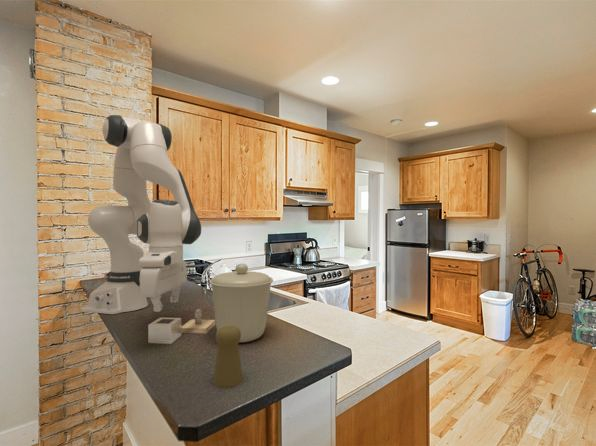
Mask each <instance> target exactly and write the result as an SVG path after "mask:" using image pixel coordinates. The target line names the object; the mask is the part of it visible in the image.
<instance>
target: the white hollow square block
mask: <svg viewBox="0 0 596 446" xmlns="http://www.w3.org/2000/svg"><path fill="white" fill-rule="evenodd" d="M147 326H148V327H147V328H148V330H147V331H148V333H147V334H148V338H147V341H148V342H147V343H148V344H170V345H172V344H173V343H174V342H175V341H177V340H178V339H179V338H180V337H181V336H182V333H181V327H182V326H183V324H182V317H158V318H157V319H156V320H154V321H152V322H151V323H149V324H148V325H147Z"/></svg>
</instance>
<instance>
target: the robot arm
mask: <svg viewBox="0 0 596 446" xmlns="http://www.w3.org/2000/svg"><path fill="white" fill-rule="evenodd" d="M101 132H102V135H103V139H104V140H105V142H106V143H107V144H108V145H111V146H114V147H115V148H116V147H117V148H116V152H115V157H114V164H113V174H112V175H113V176H112V177H113V179H112V187H113V190H114V191H115V192H116V193H117V194H119V195H120V196H122V197H124V198H126V201H127V205H113V204H112V205H111V204H108V205H101V206H95V207H94V208H93V209H91V211H90V213H89V214H88V217H87V223H88V227H89V228H90V229H91V231H92V232H93V233H95V234H96V235H98V236H99V237H101V239H102V240H103V241H104V242H105V244H106V246H107V247H108V250H109V256H110V271H109V272H106V273H104V274H103V275H104V276H103V278H105V282H104V283H102V284H101V285H99V286H98V287H97V288H95V289H94V290H93V291H91V293H90V294H89V297H88V302H87V304H85V305H83V306H82V307H81V308H80V312H84V313H94V314H107V315H116V314H121V313H127V312H133V311H137V310H140V309H141V310H142V309H144V308H146V307H148V306H149V303H148V300H147V298H150V301H151V303H152V306H153V307H152V308H153V311H154V312H161V311H162V310H163V309H164V307H163V306H164V305H163V303H162V301H161V298H162V295H163V294H165V293H168V292H169V291H171V296H170V297H169V300H170V303H171V304H173V303H177V302H179V296H180V295H179V294H180V292H181V286H183V285H185V284H187V280H188V274H187V265H186V264H187V263H186V261H185V260H184V245H192V244H194V242H196V241H197V240H198V239H199V238H200V236H201V234H202V224H201V221H200V218H199V216H198V215H197V213H196V210H195V207H194V205H193V202H192V199H191V197H190V196H191V195H190V192H189V190H188V187H187V184H186V182H185V178H184V176H183V174H182V172H181V170H179V169H178V168H177V167H175V165H173V163H172V162H171V159H170V157H169V154H168V151H169V150H170V149H171V146H172V142H173V139H172V138H173V137H172V136H173V135H172V131H171V129H170V128H169V127H167V126H166V125H163V124H161V123H156V122H152V121H149V120H146V119H142V118H135V117H129V116H128V117H127V116H122V115H120V114H109V116H107V117H106V118H105V120H104V122H103V124H102V131H101ZM147 181H148V182H150V183H153V184H156V185H159V186H161V187H163V188H165V189H166V190H168V191H169V192H170V193H171V194H172V197H173V199H174V200H169V199H154V200H150V198H149V196H148V192H147ZM129 235H136V238H137V239H138V240H140V242H141V243H144V244H146V245H148V251H147V252H146V253H144V250H143V248H142V247H141V246H139V245H137V244H135V243H133V242H131V240H130V238H129Z"/></svg>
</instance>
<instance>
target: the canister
mask: <svg viewBox="0 0 596 446" xmlns="http://www.w3.org/2000/svg"><path fill="white" fill-rule="evenodd" d="M208 281H209V282H208V283H209V284H210V285H211V290H212V292H211V293H212V301H213V309H214V310H213V311H214V320H215V326H216V332H217V331H218V329H220V328H221V327H225V326H235V327H237V328H239V330H240V332H241V338H240V341H239V343H238V344H240V343H248V342H253V341H255V340H257V339H259V338H260V337H262V335H263V334H264V332H265V330H266V326H267V318H268V310H269V304H270V294H271V284H273V281H274V279H273V278H272V277H270V275H268V274H267V273H263V272H259V271H249V266H248V265H247V264H246V263H238V264H237V265H236V266H235V271H231V272H223V273H220V274H218V275H215V276H214V277H213V278H210V280H208Z"/></svg>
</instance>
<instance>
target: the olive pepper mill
mask: <svg viewBox="0 0 596 446" xmlns="http://www.w3.org/2000/svg"><path fill="white" fill-rule="evenodd" d="M240 338H241V332H240V330H239V328H237V327H235V326H225V327H221V328H220V329H218V331H217V330H216V333H215V341H216V344H217V351H216V359H215V367H214V373H213V380H212V382H213V385H214V386H216V387H218V388H223V389H225V388H228V389H229V388H232V387H235V386H238V385H239V384H241V383H242V381H243V378H244V377H243V369H242V361H241V355H240V347H239V344H240V343H239V341H240Z"/></svg>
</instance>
